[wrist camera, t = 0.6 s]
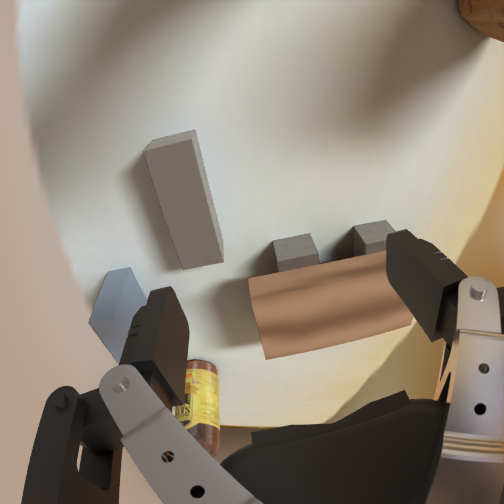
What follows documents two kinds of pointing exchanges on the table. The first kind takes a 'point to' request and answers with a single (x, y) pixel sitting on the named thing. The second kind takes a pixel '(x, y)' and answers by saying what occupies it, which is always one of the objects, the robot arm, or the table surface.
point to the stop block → (116, 309)
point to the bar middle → (295, 252)
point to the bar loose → (185, 198)
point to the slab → (325, 305)
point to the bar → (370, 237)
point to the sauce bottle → (201, 405)
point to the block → (484, 16)
